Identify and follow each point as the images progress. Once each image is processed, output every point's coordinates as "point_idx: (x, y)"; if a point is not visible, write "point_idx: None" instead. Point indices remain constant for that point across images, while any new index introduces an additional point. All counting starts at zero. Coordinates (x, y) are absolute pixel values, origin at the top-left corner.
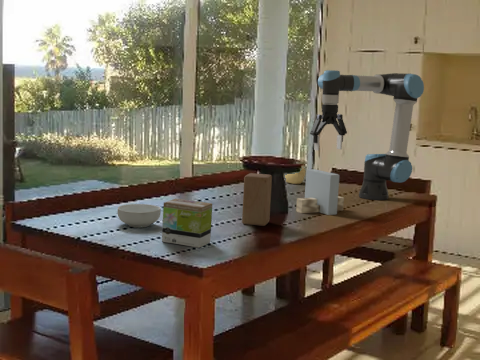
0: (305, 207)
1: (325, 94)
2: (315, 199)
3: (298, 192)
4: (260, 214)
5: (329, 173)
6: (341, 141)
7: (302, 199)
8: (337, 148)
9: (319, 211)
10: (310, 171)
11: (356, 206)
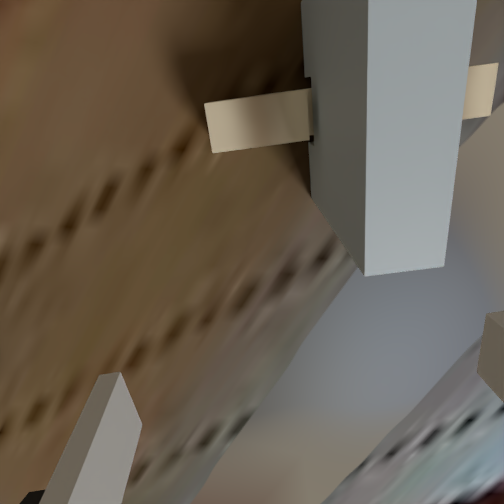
0: None
1: None
2: None
3: (203, 443)
4: None
5: (413, 18)
6: (61, 482)
7: (483, 80)
8: (136, 418)
9: None
10: (445, 216)
11: (95, 183)
